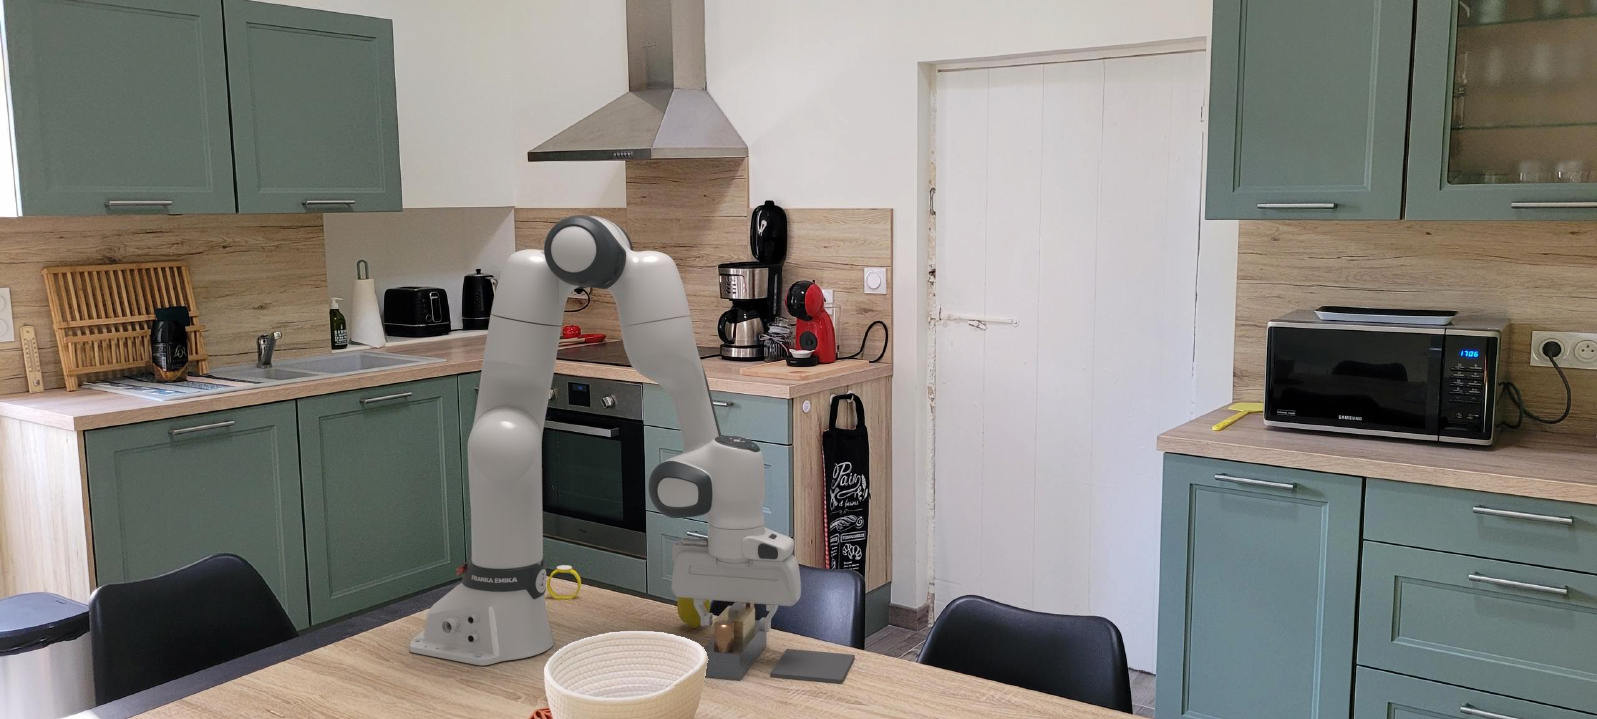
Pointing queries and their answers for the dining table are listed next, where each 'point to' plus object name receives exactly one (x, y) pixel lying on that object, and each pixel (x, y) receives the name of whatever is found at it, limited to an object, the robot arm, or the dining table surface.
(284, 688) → the dining table surface
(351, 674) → the dining table surface
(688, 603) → the lemon
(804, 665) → the rubber mat
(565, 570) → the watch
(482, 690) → the dining table surface
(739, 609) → the lever cap
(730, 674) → the plane body
